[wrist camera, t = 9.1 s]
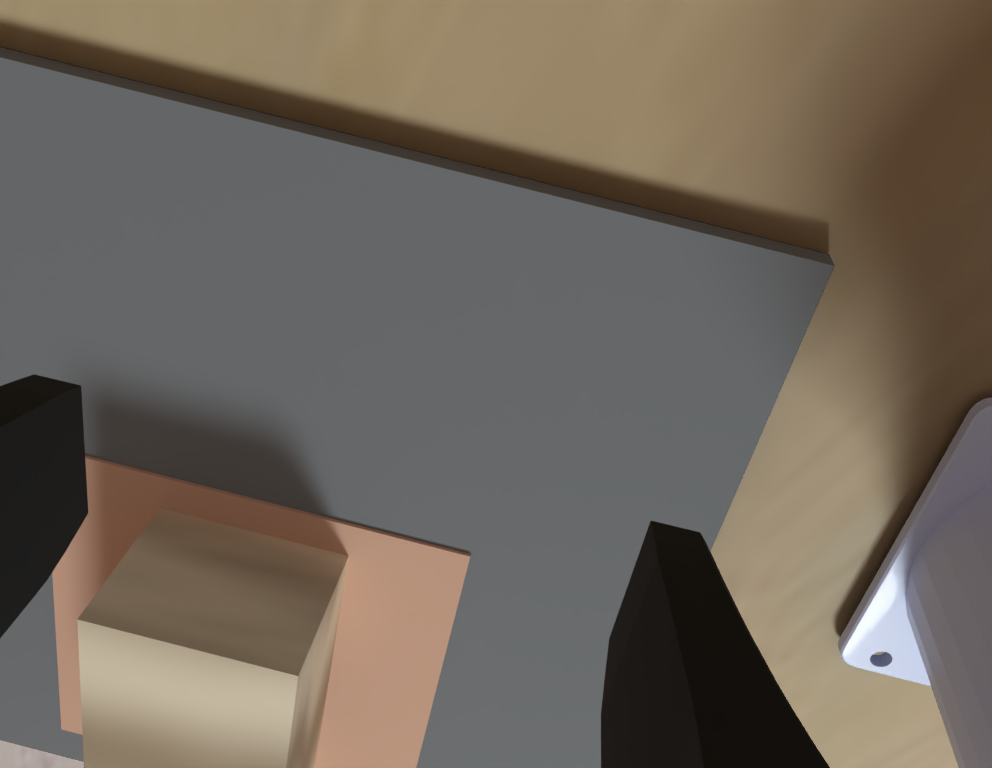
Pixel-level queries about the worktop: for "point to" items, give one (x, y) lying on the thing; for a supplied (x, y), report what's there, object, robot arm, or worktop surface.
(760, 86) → the worktop surface
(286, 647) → the card box
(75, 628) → the mat
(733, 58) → the worktop surface
